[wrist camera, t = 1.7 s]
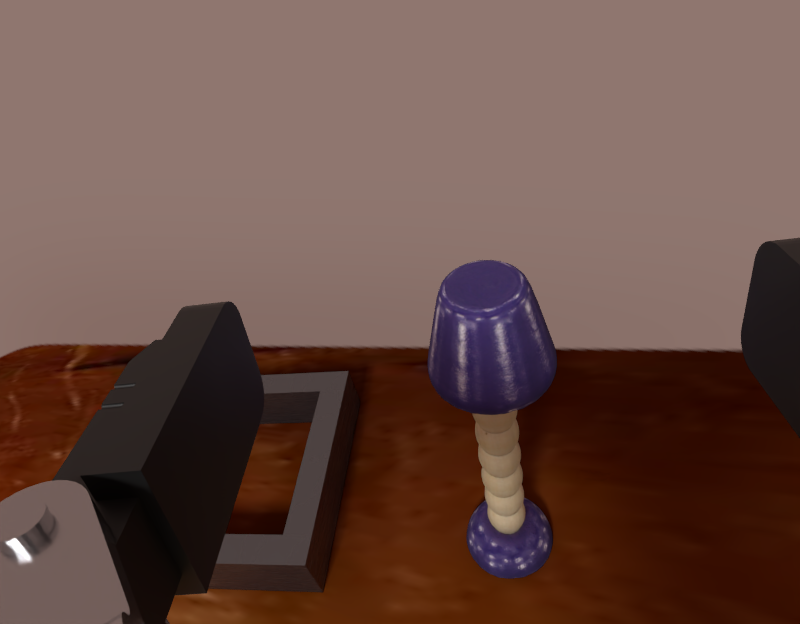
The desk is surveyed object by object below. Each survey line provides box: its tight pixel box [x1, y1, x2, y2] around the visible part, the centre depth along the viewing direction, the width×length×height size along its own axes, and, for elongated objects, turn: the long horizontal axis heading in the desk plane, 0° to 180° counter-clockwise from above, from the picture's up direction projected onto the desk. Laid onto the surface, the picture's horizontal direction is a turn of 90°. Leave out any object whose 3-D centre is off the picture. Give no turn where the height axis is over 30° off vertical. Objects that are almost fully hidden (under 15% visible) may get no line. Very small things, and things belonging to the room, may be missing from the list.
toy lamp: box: [428, 260, 557, 578], centre depth 25 cm, size 5×5×17 cm
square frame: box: [208, 371, 360, 592], centre depth 35 cm, size 12×12×3 cm
